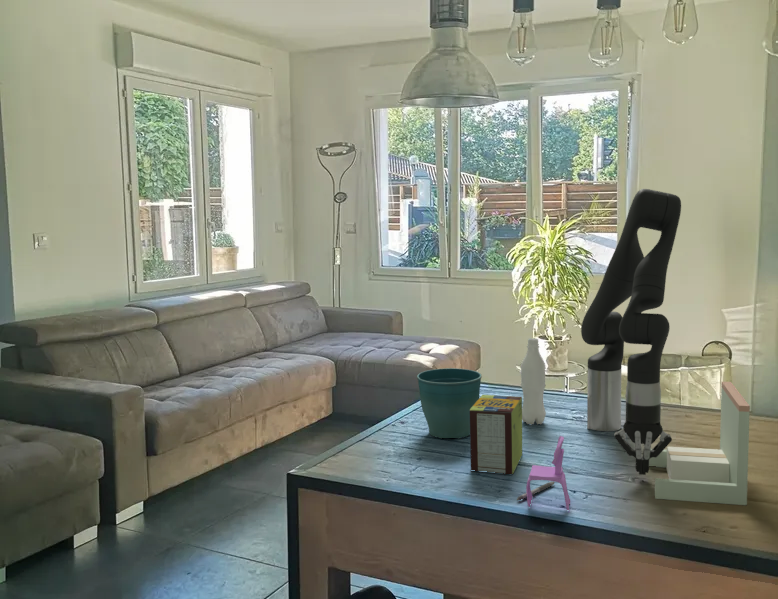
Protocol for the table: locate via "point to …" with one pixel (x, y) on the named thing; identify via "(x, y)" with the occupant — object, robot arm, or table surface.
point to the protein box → (496, 433)
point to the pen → (536, 490)
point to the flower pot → (448, 400)
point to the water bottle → (533, 384)
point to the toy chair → (550, 473)
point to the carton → (697, 464)
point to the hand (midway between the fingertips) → (642, 473)
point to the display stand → (733, 447)
